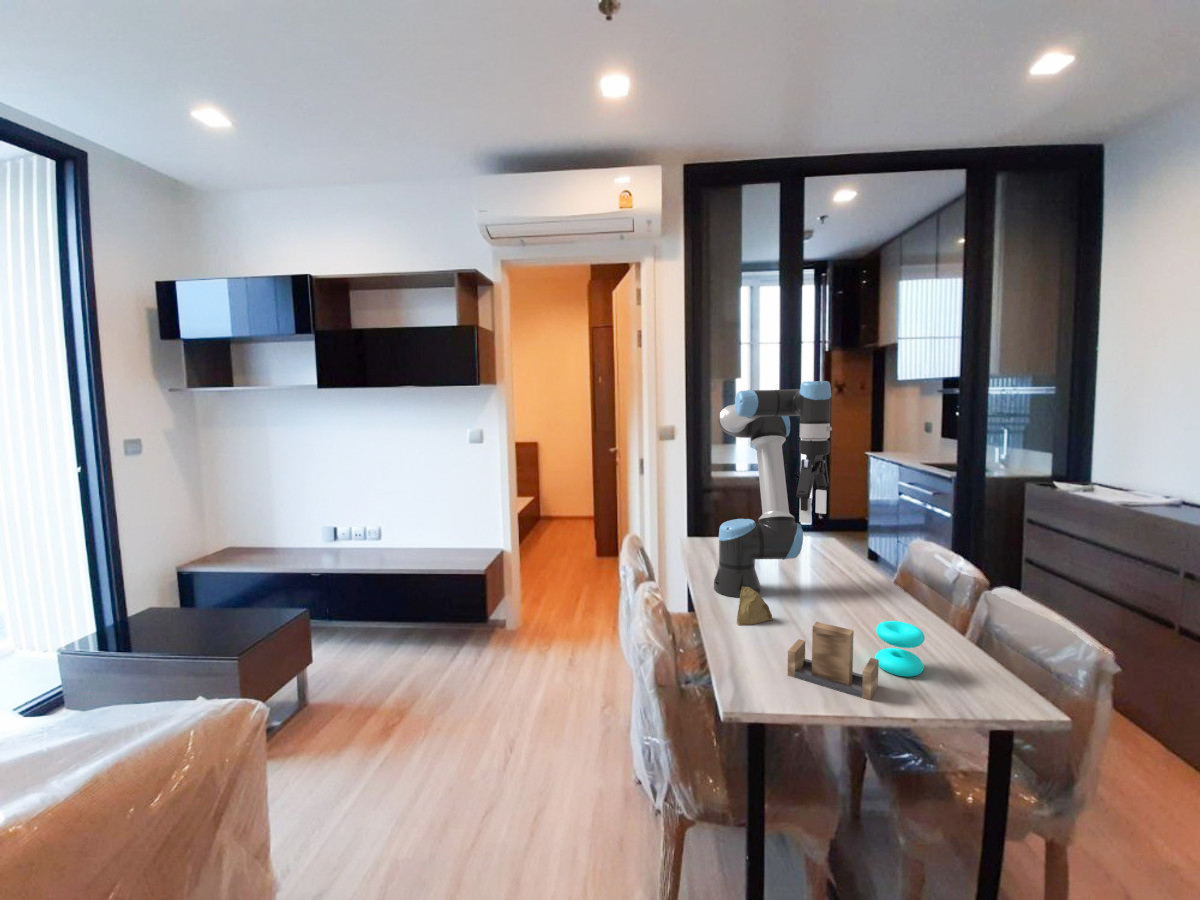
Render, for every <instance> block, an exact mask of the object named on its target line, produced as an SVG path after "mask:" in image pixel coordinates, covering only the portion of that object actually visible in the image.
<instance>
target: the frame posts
mask: <svg viewBox="0 0 1200 900" xmlns="http://www.w3.org/2000/svg"><path fill="white" fill-rule="evenodd" d="M804 659H806V640H803V639H801V638H798V639H797V640H796V641H795V642H794V643H793V644H792V645H791V646H790V648H789V649H788V650H787V676H789V677H792V678H795V670H796V669H798V670H800V669H801V668H802V666H803V661H804ZM879 668H880V667H879V660H878V659H875V657H874V658H873V657H870V658H869V660H868V662H867V663H866V665H865V667H864V669H863V670H862V675H863V684H862V699H865V700H868V701H871V700H872V698H873V696H874V694H875V692H876V690H877V688H878V686H879Z"/></svg>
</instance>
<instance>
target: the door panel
mask: <svg viewBox="0 0 1200 900" xmlns="http://www.w3.org/2000/svg"><path fill="white" fill-rule="evenodd" d="M811 638H812V640H811V641H812V643H811V646H812V647H811V648H812V649H811V650H812V651H811V661H812V674H815V675H818V676H822V677H825V678H829V679H832V680H835V681H839V682H842V683H846V684H849V685H850V684H851V683H852V673H853V672H854V671H853V667H854V665H853V664H854V630H853V629H850V628H845V627H841V626H837V625H833V624H828V623H824V622H819V621H816V622H815V623H814V624H813V625H812V637H811Z"/></svg>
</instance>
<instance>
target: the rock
mask: <svg viewBox="0 0 1200 900" xmlns="http://www.w3.org/2000/svg"><path fill="white" fill-rule="evenodd" d="M738 603H739V604H738V610H737V616H736V624H737V626H741V625H742V626H743V625H744V626H745V625H747V626H748V625H749V626H750V625H757V624H759V623H764V622H767V621H771V620H773V614H772V612H771V610H770V607H769V605H768V603H766V601H765V600H764V599H763V597H762V596H761V594H760V593H757V592H756V591H754V590H753V589H752V588H750V587H743V586H742V588H741V593H740V597H739V601H738Z"/></svg>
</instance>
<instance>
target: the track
mask: <svg viewBox="0 0 1200 900" xmlns="http://www.w3.org/2000/svg"><path fill="white" fill-rule="evenodd" d="M794 678H795V679H799V680H802V681H805V682H809V683H812V684H815V685H819V686H822V687H825V688H828V689H831V690H835V691H839V692H842V693H845V694H849V695H851V696H855V697H859V698H862V684H863V673H859V672H858V673H857V672H855V671H853V673H852V683H851V684H850V685H849V684H846V683H842V682H839V681H835V680H832V679H829V678H825V677H822V676H818V675H815V674H812V659H807V658H805V659H804V661H803V666H802V668H801V669H800V670H798V669H796V670H795V677H794ZM862 699H863V698H862Z"/></svg>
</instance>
